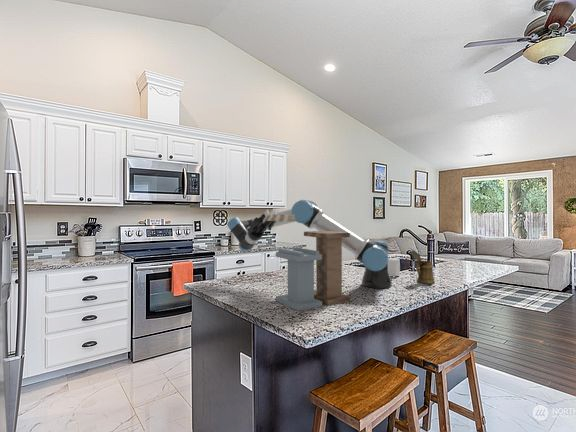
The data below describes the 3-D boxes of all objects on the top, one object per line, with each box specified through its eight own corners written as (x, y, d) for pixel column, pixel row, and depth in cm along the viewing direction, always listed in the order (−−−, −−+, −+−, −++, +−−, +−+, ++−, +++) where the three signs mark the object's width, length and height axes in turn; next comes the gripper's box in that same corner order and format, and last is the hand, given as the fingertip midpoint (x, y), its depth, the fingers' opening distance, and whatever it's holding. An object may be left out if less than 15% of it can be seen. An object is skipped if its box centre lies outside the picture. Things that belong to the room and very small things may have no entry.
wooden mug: (406, 281, 186) (406, 249, 186) (426, 280, 190) (426, 248, 190) (417, 285, 177) (417, 251, 177) (438, 283, 182) (438, 250, 181)
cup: (402, 276, 200) (402, 259, 200) (384, 277, 197) (384, 260, 197) (394, 274, 208) (394, 257, 208) (377, 275, 205) (377, 258, 205)
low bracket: (275, 300, 148) (275, 248, 148) (298, 296, 154) (298, 247, 154) (297, 310, 132) (297, 252, 132) (322, 306, 139) (321, 250, 138)
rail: (261, 220, 165) (261, 214, 165) (267, 220, 166) (267, 214, 166) (288, 221, 142) (288, 214, 142) (295, 221, 144) (294, 214, 144)
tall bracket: (304, 296, 156) (303, 231, 155) (324, 292, 162) (324, 230, 161) (327, 305, 140) (327, 233, 140) (349, 301, 146) (349, 232, 146)
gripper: (269, 240, 179) (288, 218, 161) (241, 241, 171) (258, 219, 153) (266, 227, 182) (284, 205, 164) (238, 228, 174) (254, 205, 156)
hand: (271, 211), depth 159 cm, fingers closed on rail, 3 cm apart
